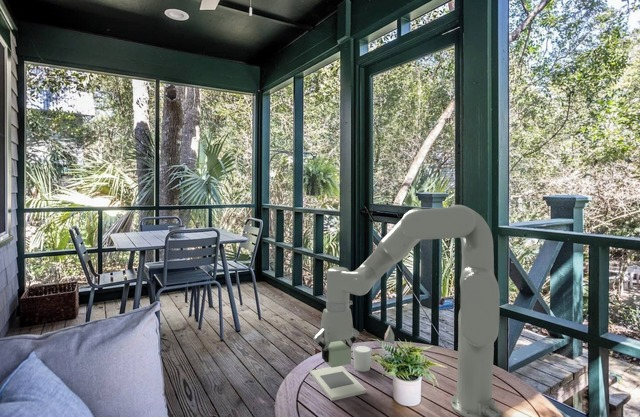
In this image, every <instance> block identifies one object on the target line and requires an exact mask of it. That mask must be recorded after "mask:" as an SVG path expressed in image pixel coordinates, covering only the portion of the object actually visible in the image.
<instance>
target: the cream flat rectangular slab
mask: <svg viewBox="0 0 640 417" xmlns="http://www.w3.org/2000/svg"><path fill="white" fill-rule="evenodd" d="M310 374H311V375H312V376H311V375H310ZM309 375H310V376H311V377H312V379H313V380H314V381H315V382H316V383H317V385H318V386H319V388H321V390H322V391H323V392H324V394H325V395H326V396H327V397H328V399H330V401H331V402H334V401H337V400H342V399H346V398H351V397H355V396H359V395H363V394H367V389H366V388H365V386H363V385H362V384H361V383H360V382H359V381H358V380H357V379H356V378H355V376H353V375H352V374H351V373H350V372H349V371H348V370H347V369H346V368H345V367H344V365H343V366H338V367H333V368H331V367H330V366H328V367H322V368H318V369H312V370H309Z"/></svg>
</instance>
